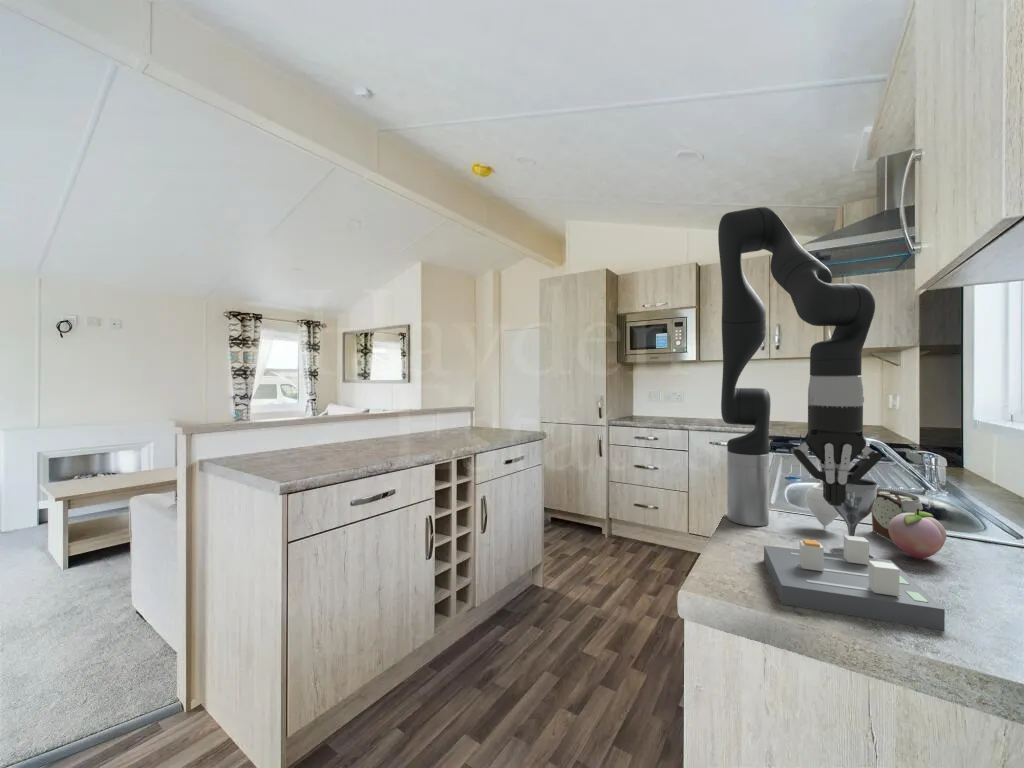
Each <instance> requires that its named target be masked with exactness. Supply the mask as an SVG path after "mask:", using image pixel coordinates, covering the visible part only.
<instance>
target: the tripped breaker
mask: <svg viewBox="0 0 1024 768" xmlns="http://www.w3.org/2000/svg"><path fill="white" fill-rule="evenodd" d="M799 550H800V565H801V567H802V568H803V569H809V570H817V571H824V553H825V551H824V550H825V549H824V546H823V545H822V543H820V542H818V540H813V539H805V538H803V540H799Z"/></svg>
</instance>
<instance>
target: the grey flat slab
mask: <svg viewBox="0 0 1024 768" xmlns="http://www.w3.org/2000/svg"><path fill="white" fill-rule="evenodd" d="M869 561H877V562H885V563H893V564H894V565H895V566H896V567H897V568H898V569H899V570H900V573H899V596H893V595H886V594H879V593H874V592H873V590H872V589H871V588H870V587H869V565H867V564H859V563H851V562H848V561H847V560H846V559H845V558H844V555H841V554H833V553H831V552H824V571H817V570H809V569H803V568H802V567H801V565H800V548H799V549H797V548H790V547H781V546H773V545H763V562H764V565H765V566H766V570H767V572H768V574H769V576H770V579H771V582H772V584H773V587H774V588H775V592H776V593H777V596H778V599H779V601H780V603H781V605H786V606H792V607H799V608H805V609H811V610H817V611H822V612H830V613H836V614H842V615H848V616H854V617H859V618H860V617H861V618H866V619H873V620H879V621H884V622H891V623H896V624H897V623H898V624H904V625H910V626H915V627H922V628H928V629H934V630H939V631H941V630H942V631H945V622H946V621H945V618H946V616H945V614H946V612H945V608H944V607H943V606H942V605H940V604H939V603H938V602H937V601H936V600H935V599H934V598H933V597H932V596H931V595H930V594H929V593H927V592H926V591H925V590H924V589H923V588H922V587H921V586H920V585H918V584H917V583H916V582H915V581H914V580H913V579H912V578H911V577H910V576H908V575H907V574H906V573H905V572H904V571H903V570H902V569H901V568H900V567H899V566H897V564H895V563H894V562H893V561H892V560H890V559H883V558H882V559H881V558H869Z"/></svg>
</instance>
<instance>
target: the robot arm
mask: <svg viewBox="0 0 1024 768" xmlns="http://www.w3.org/2000/svg"><path fill="white" fill-rule="evenodd" d="M717 230H718V232H717V233H718V234H717V237H718V241H717V242H718V243H717V244H718V253H719V263H720V274H721V275H720V276H721V303H722V304H721V341H722V342H721V343H722V378H721V379H722V380H721V381H722V383H721V400H720V401H721V402H720V409H721V410H720V412H721V413H720V414H721V418H722V420H723V422H724V423H725V424H727V425H736V426H738V425H740V426H754V429H752V430H751V431H750V432H748V433H746V434H743V435H740V436H737V437H733V438H731V439H729V440H728V441H727V444H726V445H727V448H726V449H727V454H726V455H727V456H726V457H727V458H726V459H727V462H726V463H727V464H726V465H727V468H726V469H727V471H726V472H727V473H726V474H727V476H726V477H727V483H726V484H727V485H726V486H727V487H726V488H727V491H726V493H727V494H726V495H727V496H726V499H727V500H726V501H727V503H726V507H727V508H726V512H727V513H726V515H727V516H726V518H727V520H729V521H730V522H733V523H736V524H739V525H744V526H749V527H761V526H762V527H763V526H767V525H768V524H769V521H770V519H769V518H770V517H769V516H770V515H769V514H770V509H769V508H770V440H769V439H770V434H769V433H770V421H771V420H770V418H771V395H770V392H769V391H768V389H766V388H759V387H758V388H757V387H754V388H753V387H750V388H749V387H747V388H746V387H737V383H738V380H739V378H740V376H741V374H742V372H743V371H744V368H745V367H746V366H747V364H748V363H749V362H750V361H751V359H752V358H753V357H754V355H755V354H756V352H758V350H759V349H760V348H761V346H762V345H763V343H764V340H765V338H766V325H767V322H766V321H767V315H766V314H767V312H766V310H767V309H766V307H765V305H764V302H763V301H762V300H761V299H760V297H759V295H758V294H757V292H755V290H754V289H753V287H752V286H751V285H750V283H749V282H748V280H747V278H746V276H745V273H744V269H743V263H742V254H746V253H753V252H759V251H762V250H766V251H768V252H770V253H771V254H772V255H771V259H770V267H769V268H770V273H771V275H772V277H773V279H774V280H775V282H776V283H777V284H778V285H779V286H780V287H781V288H782V289H783V290H784V291H785V292H786V293H788V294H789V296H790V299H791V302H792V303H793V305H794V309H795V311H796V314H797V316H798V317H799V318H800V320H802V321H804V322H805V323H806V324H809V325H810V326H814V327H834V330H833V332H832V335H831V337H830V338H829V339H826V340H822V341H819V342H815V343H814V344H812V346H811V348H810V354H809V383H808V389H807V433H806V435H805V437H804V439H803V442H802V443H800V444H798V445H797V446H793V447H791V448H790V452H791V453H792V454H793V456H794V457H795V459H797V460H798V462H799V463H801V465H802V466H803V467H804V468H805V470H806V471H807V472H808V473H809V474H810V475H811V476H812V477H813V478H814V479H816V480H819V481H820V480H822V481H823V497H824V499H825V500H826V501H827V502H828V504H829V505H833V506H841V503H844V502H845V500H846V497H845V496H846V484H847V483H848V482H852V481H859V480H860V479H861V478H862V479H863V477H864V476H865V475H866V474H867V473H868V472H869V471H870V470H871V469H872V468H874V466H875V465H876V464H878V462H879V461H880V460H881V459H883V455H882V454H881V453H880V452H878V451H877V450H876V451H875V450H874V449H872V448H871V447H870V446H868V445H867V440H866V439H865V438H864V436H863V435H864V434H863V432H864V431H863V430H864V428H863V427H864V403H865V397H864V386H863V381H862V379H863V378H862V359H863V358H862V351H863V348H864V346H865V343H866V340H867V336H868V334H869V330H870V328H871V324H872V322H873V319H874V316H875V313H876V299H875V296H874V294H873V292H872V290H871V289H870V288H869V287H868V286H866V285H864V284H860V283H832V282H833V274H832V272H831V271H830V269H829V268H828V267H827V266H826V265H825V264H823V263H822V262H821V261H820V260H819V259H817V257H815V256H813V255H812V254H811V253H810V252H808V250H806V249H805V248H803V247H802V245H801V244H800V243H799V242H798V240H797V239H796V237H795V236H794V234H793V233H792V232H791V230H790V229H789V228H788V227H787V225H786V223H784V220H782V218H781V217H780V216H779V215H778V214H777V213H776V212H775V211H774V210H773V209H771V208H769V207H765V206H760V207H759V206H758V207H753V208H746V209H741V210H735V211H734V210H733V211H731V212H726V213H725V214H723V215H722V217H721V219H720V221H719V224H718V229H717ZM809 450H810V451H811V453H812V454H813V455H814V456H815V457H816V458H817V459H818V460H819V465H820V470H819V469H818V468H817V467H816V466H815V464H814V463H812V461H811V460H810V459H809V458H808V457H809V456H810V451H809ZM858 456H859V457H860V459H859V460H858V461H857V462H856V463H854V465H853V466H852V467H851V468H850V464H851V462H852V461H853V460H855V459H856V457H858Z"/></svg>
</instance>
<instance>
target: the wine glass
mask: <svg viewBox="0 0 1024 768" xmlns="http://www.w3.org/2000/svg"><path fill="white" fill-rule="evenodd" d="M877 488H878V483H877V482H876V481H874V480H870V479H867V478H866V479H865V478H863V477H862V478H861V479H860V480H859V481H852V482H848V483H847V484H846V496H845V497H846V500H845V502H844V503H841V506H833V505H832V506H833V508H834V509H835V510H836V511H837V512H838V513H839V516H840V517H841V518H842V519H843V521H844V522H845V524H846V526H847V530H848V536H856V535H855V533H856V530H857V529H856V528H857V526H858V525H859V523H860V522H861V521H863V520H864V519H865V518H867V517H868V516H869V515H870V514H872V511H873V509H874V506H875V503H876V498H877ZM829 553H832V554H841V555H844V546H843V547H842V546H841V547H840V546H839V547H838V546H837V547H835V546H834V547H832V548H829ZM869 558H874V556H873V555H872V554H870V553H869ZM874 559H875V558H874Z"/></svg>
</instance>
